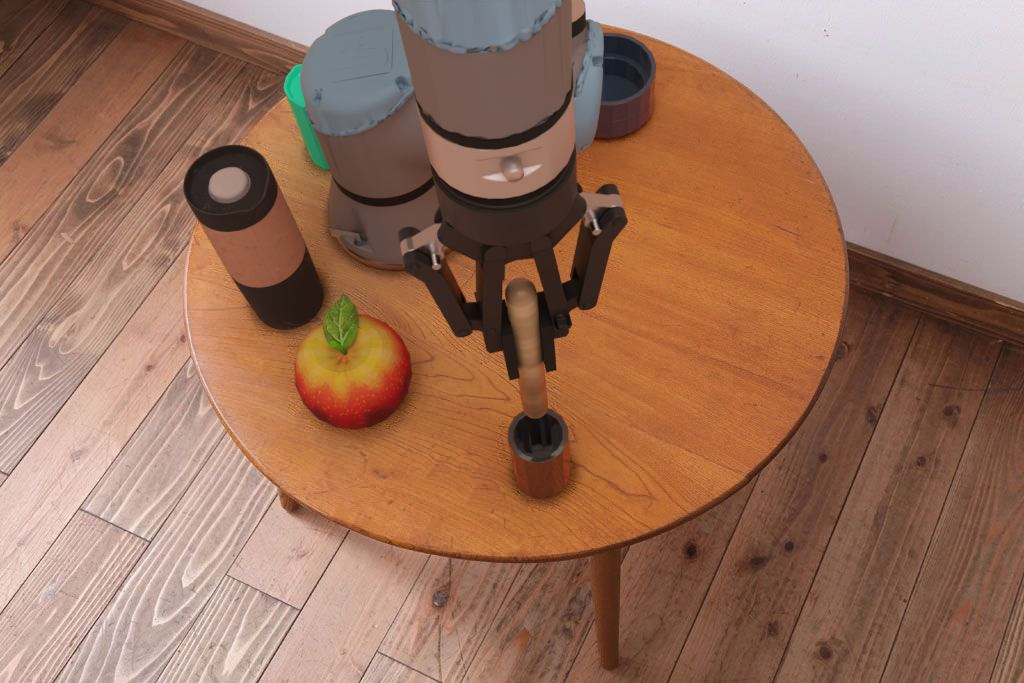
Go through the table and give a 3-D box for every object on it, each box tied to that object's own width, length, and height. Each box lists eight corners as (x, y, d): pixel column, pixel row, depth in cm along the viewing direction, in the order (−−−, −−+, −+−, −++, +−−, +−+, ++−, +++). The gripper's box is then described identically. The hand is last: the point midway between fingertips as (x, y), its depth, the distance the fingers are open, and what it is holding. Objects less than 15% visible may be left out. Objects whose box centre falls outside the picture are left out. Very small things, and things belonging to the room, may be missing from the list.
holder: (510, 453, 94) (501, 414, 86) (564, 442, 94) (561, 401, 86) (521, 504, 91) (513, 468, 83) (576, 492, 92) (574, 455, 84)
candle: (298, 148, 113) (267, 72, 102) (341, 118, 114) (315, 40, 104) (330, 179, 110) (302, 105, 100) (374, 148, 112) (350, 71, 101)
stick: (520, 402, 81) (500, 275, 64) (545, 396, 81) (532, 268, 64) (526, 425, 80) (507, 301, 63) (551, 419, 80) (538, 295, 63)
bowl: (552, 82, 114) (550, 43, 109) (639, 64, 115) (641, 24, 109) (573, 150, 110) (571, 113, 104) (663, 131, 110) (667, 93, 105)
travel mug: (253, 271, 105) (184, 147, 88) (327, 263, 105) (272, 138, 87) (250, 336, 102) (177, 220, 84) (326, 328, 101) (269, 211, 84)
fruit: (302, 445, 96) (272, 400, 87) (313, 343, 101) (286, 290, 92) (415, 442, 95) (397, 397, 86) (421, 340, 100) (404, 287, 91)
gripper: (366, 237, 50) (434, 428, 71) (665, 173, 50) (645, 382, 71) (347, 121, 53) (417, 336, 74) (627, 63, 54) (618, 292, 75)
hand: (529, 358), depth 73 cm, fingers closed on stick, 2 cm apart
